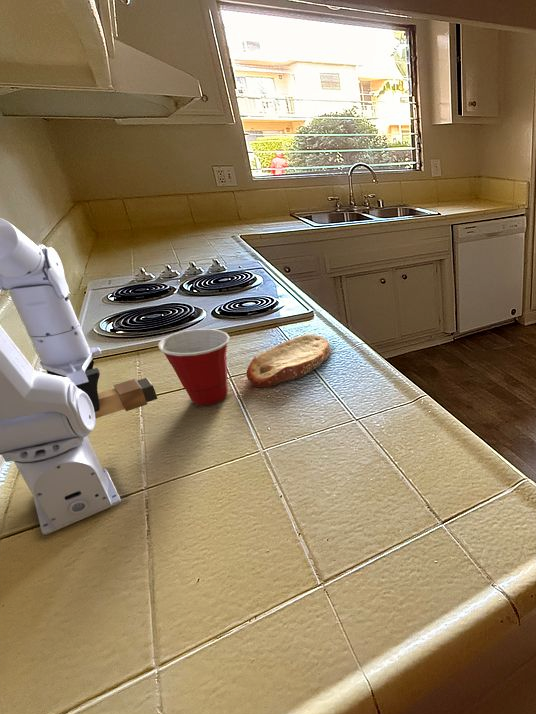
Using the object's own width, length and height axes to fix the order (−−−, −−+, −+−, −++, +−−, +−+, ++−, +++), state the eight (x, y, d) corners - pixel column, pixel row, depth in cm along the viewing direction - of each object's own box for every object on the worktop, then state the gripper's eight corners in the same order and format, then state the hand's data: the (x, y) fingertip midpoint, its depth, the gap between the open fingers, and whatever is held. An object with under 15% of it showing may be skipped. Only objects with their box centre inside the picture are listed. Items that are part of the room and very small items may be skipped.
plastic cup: (230, 412, 81) (212, 350, 76) (165, 414, 81) (143, 352, 75) (252, 382, 91) (238, 325, 86) (195, 384, 90) (177, 327, 85)
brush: (63, 432, 70) (54, 414, 68) (58, 420, 72) (50, 403, 71) (158, 400, 78) (152, 384, 76) (151, 391, 80) (145, 375, 79)
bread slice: (324, 339, 110) (321, 325, 108) (345, 370, 96) (342, 353, 94) (241, 356, 102) (237, 340, 100) (251, 392, 88) (246, 374, 86)
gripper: (98, 335, 65) (130, 416, 71) (80, 310, 74) (110, 383, 80) (32, 350, 60) (73, 435, 66) (21, 321, 69) (58, 399, 75)
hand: (89, 408), depth 73 cm, fingers closed on brush, 2 cm apart
